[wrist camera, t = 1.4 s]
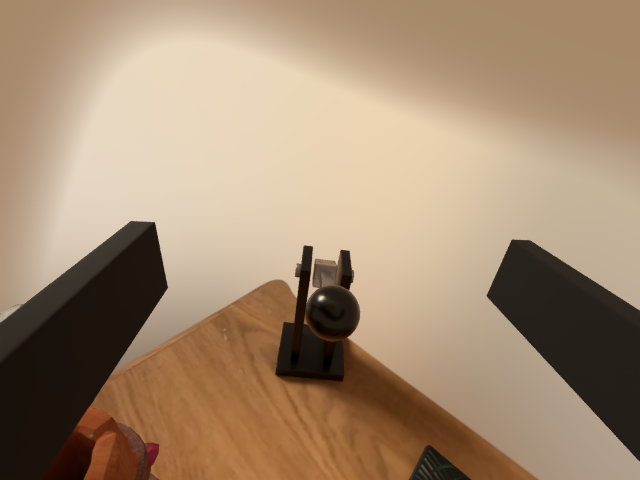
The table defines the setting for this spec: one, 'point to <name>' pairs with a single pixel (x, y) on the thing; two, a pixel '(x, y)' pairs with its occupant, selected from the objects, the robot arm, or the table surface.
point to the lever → (331, 305)
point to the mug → (103, 452)
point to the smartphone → (436, 467)
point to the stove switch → (300, 342)
